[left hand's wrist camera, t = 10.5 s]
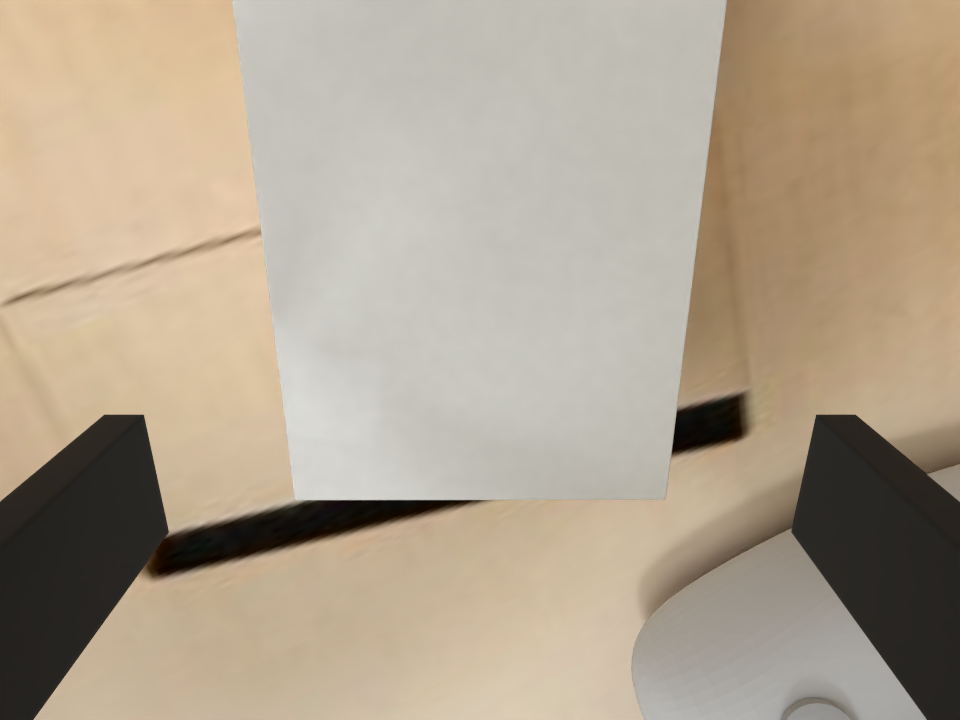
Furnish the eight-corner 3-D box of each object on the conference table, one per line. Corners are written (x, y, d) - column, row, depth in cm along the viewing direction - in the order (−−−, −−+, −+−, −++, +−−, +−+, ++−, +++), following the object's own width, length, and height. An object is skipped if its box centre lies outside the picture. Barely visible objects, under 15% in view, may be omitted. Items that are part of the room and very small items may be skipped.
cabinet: (325, -71, 24) (205, -205, 13) (633, -71, 24) (753, -206, 13) (358, 363, 30) (294, 500, 20) (601, 362, 30) (666, 500, 20)
